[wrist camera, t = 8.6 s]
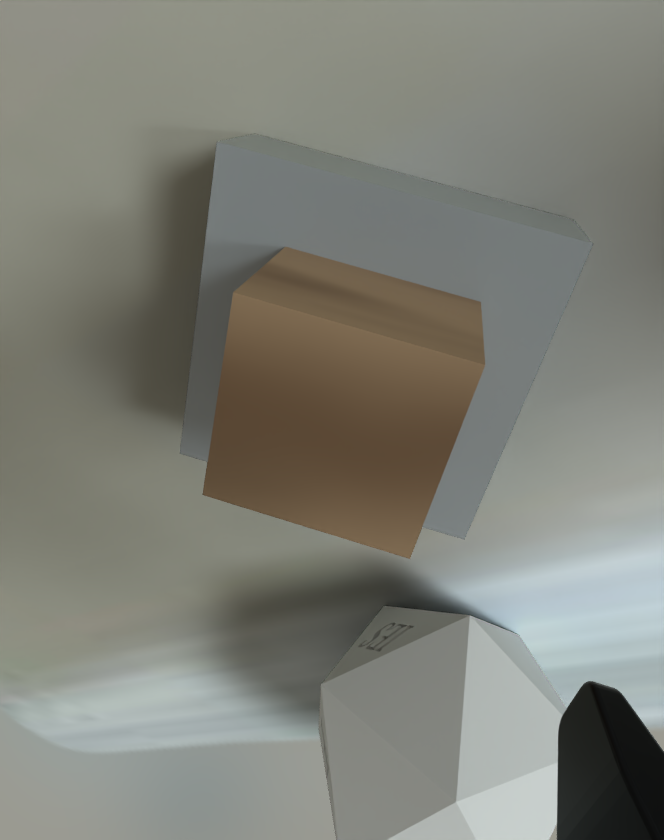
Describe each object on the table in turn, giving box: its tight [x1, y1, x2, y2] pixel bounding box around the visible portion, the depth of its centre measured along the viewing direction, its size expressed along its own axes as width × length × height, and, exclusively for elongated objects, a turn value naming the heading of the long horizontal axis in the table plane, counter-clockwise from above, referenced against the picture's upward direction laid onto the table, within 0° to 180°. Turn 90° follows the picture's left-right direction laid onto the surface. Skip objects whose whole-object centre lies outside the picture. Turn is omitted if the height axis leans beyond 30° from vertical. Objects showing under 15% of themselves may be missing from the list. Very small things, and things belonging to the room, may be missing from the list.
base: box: [180, 134, 593, 539], centre depth 18 cm, size 9×9×3 cm
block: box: [203, 247, 485, 559], centre depth 15 cm, size 5×5×4 cm
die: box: [319, 606, 567, 840], centre depth 21 cm, size 8×9×10 cm
